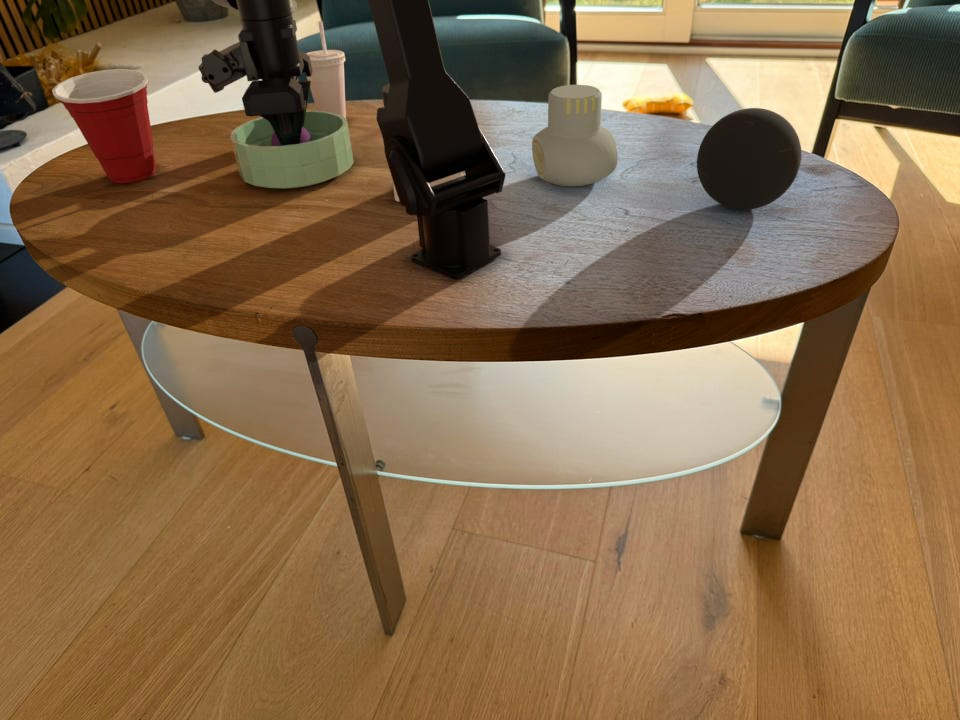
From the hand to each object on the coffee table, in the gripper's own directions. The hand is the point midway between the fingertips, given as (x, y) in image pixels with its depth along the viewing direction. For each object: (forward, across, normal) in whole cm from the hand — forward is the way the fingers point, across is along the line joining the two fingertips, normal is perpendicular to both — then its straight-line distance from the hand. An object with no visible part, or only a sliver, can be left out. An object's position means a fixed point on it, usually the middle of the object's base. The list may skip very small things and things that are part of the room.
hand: (294, 151), depth 89 cm
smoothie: (+3, -19, +4) cm, 19 cm away
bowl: (+2, 0, 0) cm, 2 cm away
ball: (-1, 0, 0) cm, 1 cm away
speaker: (+3, +23, +48) cm, 54 cm away
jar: (+3, +11, +16) cm, 20 cm away
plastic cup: (+3, -4, -22) cm, 22 cm away
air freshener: (+3, +11, +33) cm, 35 cm away
